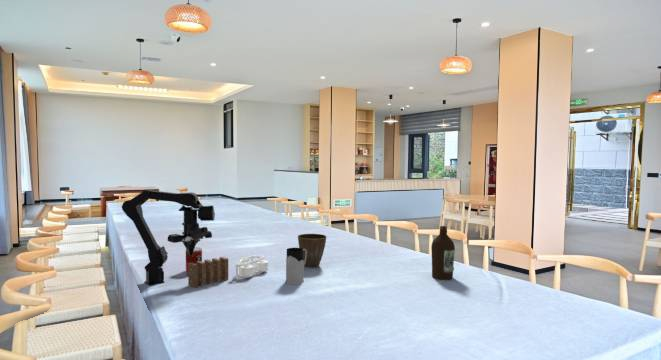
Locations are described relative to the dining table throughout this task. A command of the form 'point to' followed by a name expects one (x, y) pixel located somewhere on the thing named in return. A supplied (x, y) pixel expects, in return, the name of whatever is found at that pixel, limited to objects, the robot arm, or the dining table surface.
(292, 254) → the tall mug
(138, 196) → the robot arm
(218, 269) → the tile
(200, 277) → the tile
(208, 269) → the tile
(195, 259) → the canned food
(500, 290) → the dining table surface
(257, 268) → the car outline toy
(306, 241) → the plant pot
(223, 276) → the tile
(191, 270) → the tile
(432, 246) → the olive oil
